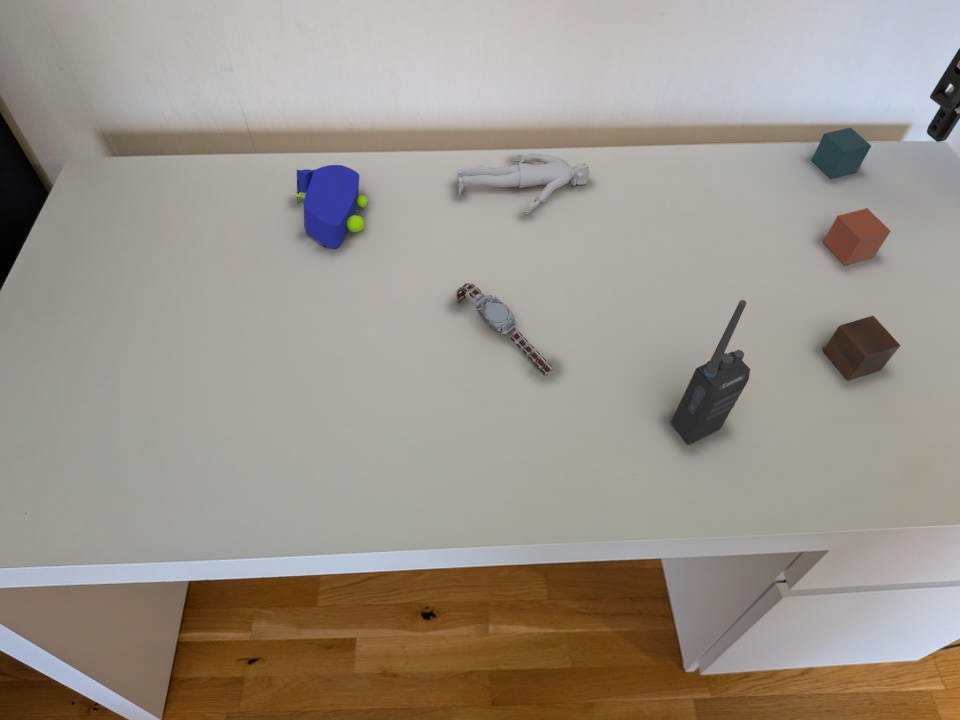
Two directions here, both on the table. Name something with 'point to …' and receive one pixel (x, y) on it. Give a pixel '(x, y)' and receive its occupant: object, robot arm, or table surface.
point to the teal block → (840, 152)
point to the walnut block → (860, 347)
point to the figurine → (526, 175)
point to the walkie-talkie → (713, 389)
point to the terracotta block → (856, 236)
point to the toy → (330, 203)
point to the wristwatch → (501, 322)
